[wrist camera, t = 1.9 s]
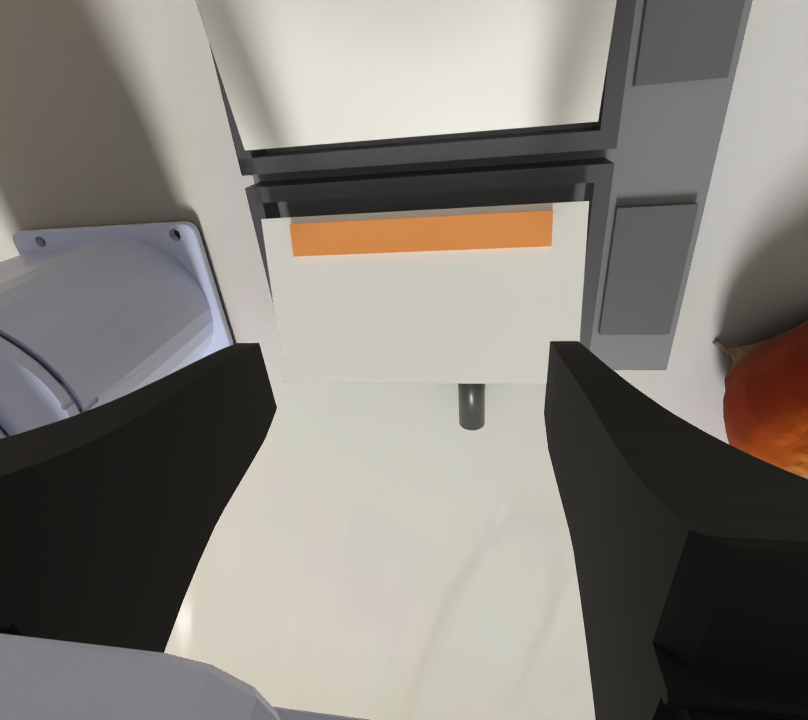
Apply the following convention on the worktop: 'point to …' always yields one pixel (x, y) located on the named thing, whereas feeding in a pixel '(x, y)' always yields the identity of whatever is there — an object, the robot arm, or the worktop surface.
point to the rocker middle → (406, 66)
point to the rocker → (427, 293)
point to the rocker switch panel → (561, 174)
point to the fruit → (770, 399)
